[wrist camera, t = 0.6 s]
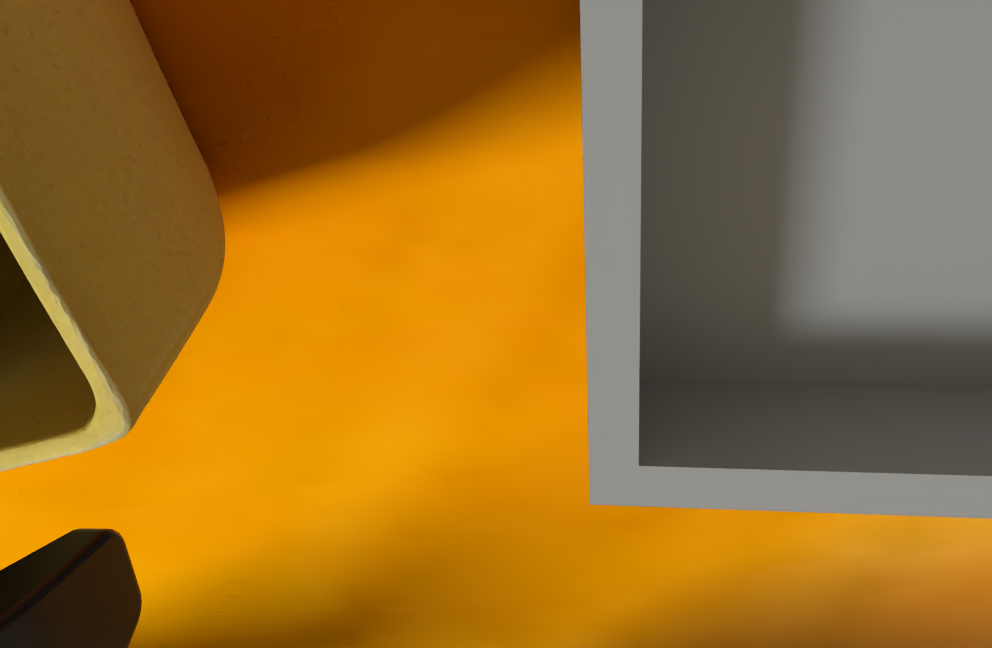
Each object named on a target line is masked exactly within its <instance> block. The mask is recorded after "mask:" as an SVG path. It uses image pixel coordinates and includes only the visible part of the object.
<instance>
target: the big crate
mask: <svg viewBox="0 0 992 648" xmlns="http://www.w3.org/2000/svg"><path fill="white" fill-rule="evenodd" d="M580 33H581V83H582V134H583V184H584V235H585V285H586V336H587V386H588V437H589V487H590V504H592V505H620V506H649V507H677V508H706V509H734V510H763V511H792V512H820V513H849V514H877V515H906V516H934V517H963V518H992V0H580Z"/></svg>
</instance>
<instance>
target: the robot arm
mask: <svg viewBox="0 0 992 648" xmlns="http://www.w3.org/2000/svg"><path fill="white" fill-rule="evenodd" d="M141 603H142V601H141V592H140V589H139V585H138V582H137V579H136V576H135V573H134V570H133V566H132V563H131V560H130V557H129V554H128V551H127V547H126V544H125V542H124V539H123V537H122V536H121V535H120V534H119V533H118V532H117V531H115V530H113V529H77V530H73V531H71V532H69V533H67V534H65V535H64V536H62V537H60V538H58V539H56V540H55V541H53V542H51V543H49V544H47V545H46V546H44V547H42V548H40V549H38V550H37V551H35V552H33V553H31V554H29V555H27V556H26V557H24V558H22V559H20V560H18V561H17V562H15V563H13V564H11V565H9V566H8V567H6V568H4V569H2V570H0V648H128V646H129V644H130V641H131V639H132V636H133V633H134V631H135V628H136V626H137V623H138V620H139V617H140V612H141Z"/></svg>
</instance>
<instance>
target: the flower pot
mask: <svg viewBox="0 0 992 648" xmlns="http://www.w3.org/2000/svg"><path fill="white" fill-rule="evenodd" d="M224 257H225V233H224V224H223V217H222V213H221V208H220V204H219V200H218V196H217V193H216V190H215V187H214V184H213V181H212V178H211V175H210V172H209V169H208V167H207V165H206V163H205V161H204V159H203V157H202V155H201V153H200V151H199V148H198V146H197V145H196V143H195V141H194V138H193V136H192V134H191V132H190V130H189V128H188V126H187V124H186V121H185V119H184V117H183V115H182V113H181V111H180V108H179V106H178V104H177V102H176V100H175V98H174V96H173V94H172V91H171V89H170V87H169V85H168V83H167V81H166V79H165V77H164V74H163V72H162V70H161V68H160V66H159V64H158V62H157V59H156V57H155V55H154V53H153V50H152V48H151V46H150V44H149V42H148V39H147V37H146V35H145V33H144V31H143V29H142V26H141V24H140V22H139V20H138V17H137V15H136V13H135V10H134V8H133V6H132V4H131V2H130V0H0V471H5V470H9V469H14V468H17V467H20V466H26V465H31V464H34V463H39V462H44V461H48V460H53V459H56V458H59V457H64V456H69V455H74V454H79V453H82V452H85V451H89V450H92V449H95V448H98V447H101V446H104V445H106V444H109V443H111V442H114V441H116V440H118V439H120V438H122V437H124V436H125V435H126V434H127V433H128V432H129V431H130V430H131V429H132V427H133V426H134V425H135V423H136V421H137V419H138V418H139V416H140V414H141V412H142V411H143V409H144V408H145V406H146V405H147V403H148V402H149V400H150V399H151V397H152V396H153V394H154V393H155V391H156V389H157V388H158V386H159V385H160V383H161V382H162V380H163V378H164V377H165V375H166V374H167V372H168V371H169V369H170V367H171V366H172V364H173V363H174V361H175V360H176V358H177V356H178V355H179V353H180V351H181V350H182V348H183V347H184V345H185V343H186V342H187V340H188V339H189V337H190V335H191V334H192V332H193V330H194V329H195V327H196V326H197V324H198V322H199V321H200V319H201V317H202V316H203V314H204V312H205V311H206V309H207V307H208V305H209V303H210V302H211V300H212V298H213V295H214V293H215V291H216V289H217V286H218V283H219V280H220V278H221V273H222V269H223V263H224Z"/></svg>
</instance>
